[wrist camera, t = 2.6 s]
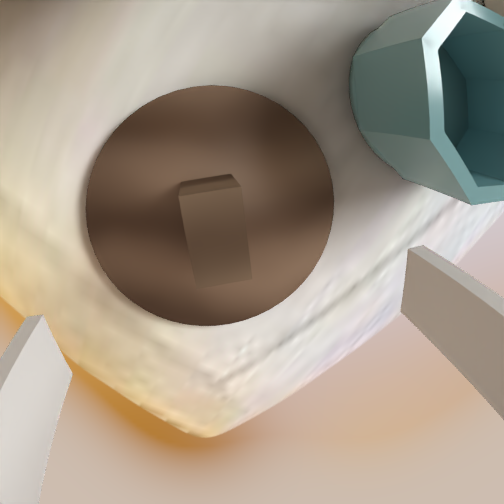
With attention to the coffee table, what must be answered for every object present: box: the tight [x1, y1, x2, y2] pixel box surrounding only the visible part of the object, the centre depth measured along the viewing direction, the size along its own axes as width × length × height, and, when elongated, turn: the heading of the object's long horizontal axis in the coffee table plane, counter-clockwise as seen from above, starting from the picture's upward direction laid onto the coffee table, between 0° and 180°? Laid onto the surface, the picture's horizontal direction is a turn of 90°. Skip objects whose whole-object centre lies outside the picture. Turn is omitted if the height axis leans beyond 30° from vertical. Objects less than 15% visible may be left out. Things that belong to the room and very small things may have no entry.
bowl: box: [349, 0, 504, 205], centre depth 16 cm, size 12×12×8 cm
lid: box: [86, 85, 334, 326], centre depth 18 cm, size 16×16×5 cm
